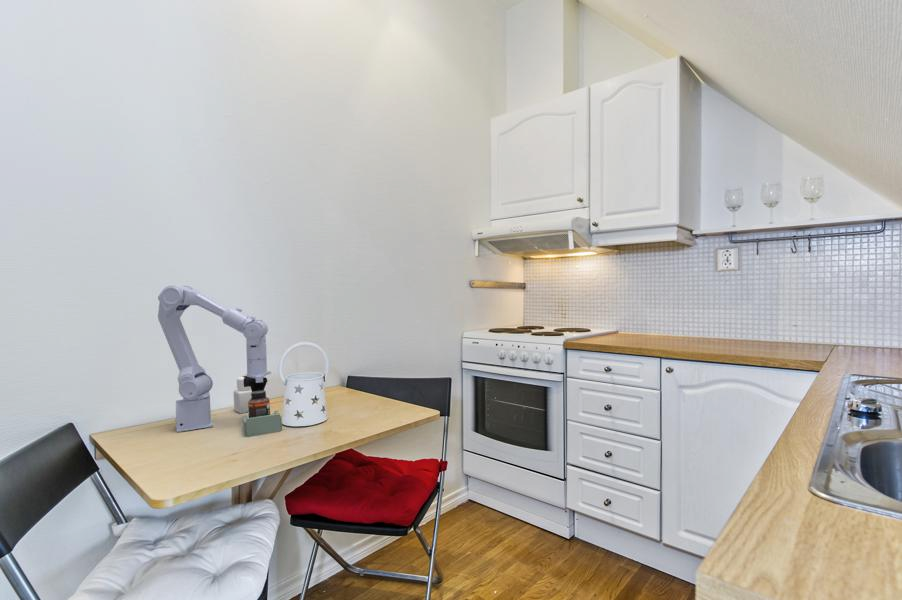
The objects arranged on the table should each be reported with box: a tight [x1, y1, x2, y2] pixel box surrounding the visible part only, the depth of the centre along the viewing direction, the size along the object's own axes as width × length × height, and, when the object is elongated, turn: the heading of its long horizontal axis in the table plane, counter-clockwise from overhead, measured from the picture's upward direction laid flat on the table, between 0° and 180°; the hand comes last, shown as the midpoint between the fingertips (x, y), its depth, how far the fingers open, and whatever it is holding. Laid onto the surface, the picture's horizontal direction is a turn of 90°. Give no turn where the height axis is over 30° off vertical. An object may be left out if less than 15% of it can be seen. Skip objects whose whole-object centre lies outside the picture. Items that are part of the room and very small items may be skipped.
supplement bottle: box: [247, 389, 271, 418], centre depth 134 cm, size 6×6×11 cm
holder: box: [242, 410, 283, 438], centre depth 134 cm, size 10×10×5 cm
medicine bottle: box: [233, 375, 253, 415], centre depth 158 cm, size 7×7×12 cm
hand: (258, 401), depth 142 cm, fingers closed
